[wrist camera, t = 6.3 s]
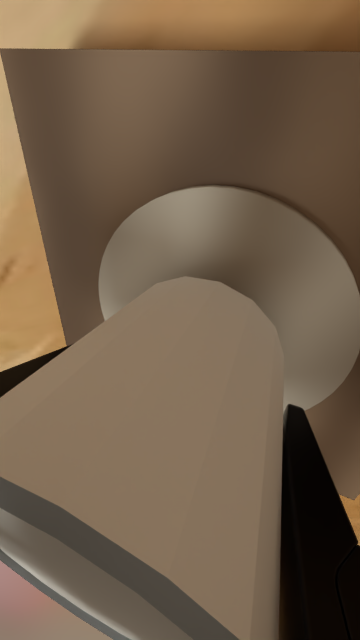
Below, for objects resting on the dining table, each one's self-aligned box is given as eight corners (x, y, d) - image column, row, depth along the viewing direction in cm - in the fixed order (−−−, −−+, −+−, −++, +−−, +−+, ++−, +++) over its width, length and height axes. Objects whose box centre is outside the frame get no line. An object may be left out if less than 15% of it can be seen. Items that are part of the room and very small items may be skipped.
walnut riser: (609, 73, 7) (777, 50, 4) (350, 446, 16) (354, 510, 14) (64, 61, 12) (-15, 46, 9) (104, 360, 21) (71, 396, 18)
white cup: (349, 305, 8) (405, 732, 2) (261, 442, 12) (209, 708, 7) (120, 227, 9) (-172, 385, 4) (113, 375, 13) (-29, 549, 8)
